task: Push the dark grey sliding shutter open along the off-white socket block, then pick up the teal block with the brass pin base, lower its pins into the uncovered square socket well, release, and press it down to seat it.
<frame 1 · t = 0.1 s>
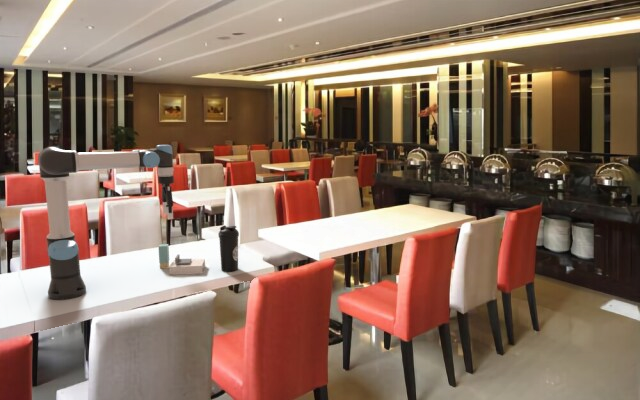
hand: (168, 216, 249), 28 cm above the table, fingers open, 13 cm apart
shutter: (183, 259, 250), point 6 cm above the table, slide at 0.0 cm
socket block: (187, 270, 251), on the table
water bottle: (229, 269, 253), on the table
teal block: (164, 267, 256), on the table
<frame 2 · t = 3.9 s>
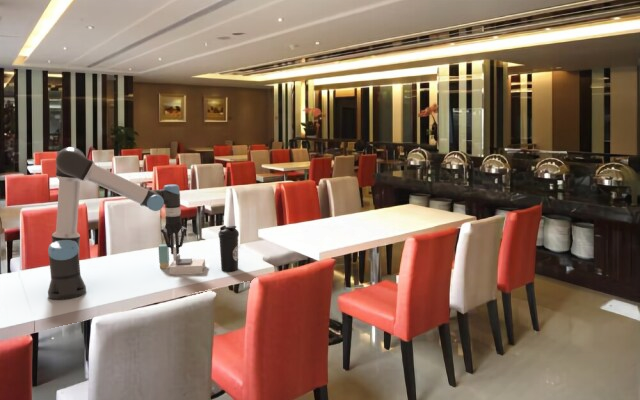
hand: (175, 260, 250), 6 cm above the table, fingers closed
shutter: (183, 259, 250), point 6 cm above the table, slide at 0.3 cm, touching gripper
everything else where it was.
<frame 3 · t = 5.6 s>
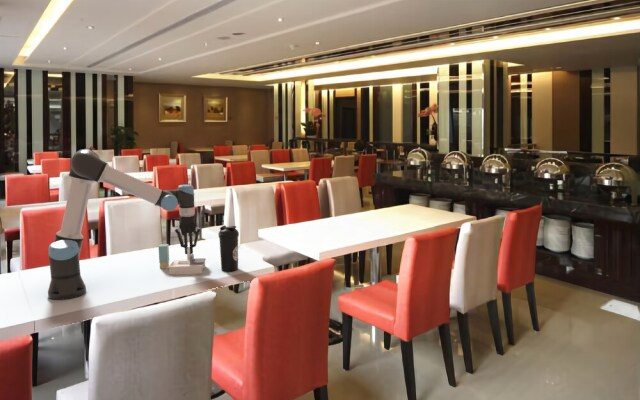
hand: (189, 260, 251), 5 cm above the table, fingers closed
shutter: (197, 258, 251), point 6 cm above the table, slide at 7.2 cm, touching gripper
everything else where it was.
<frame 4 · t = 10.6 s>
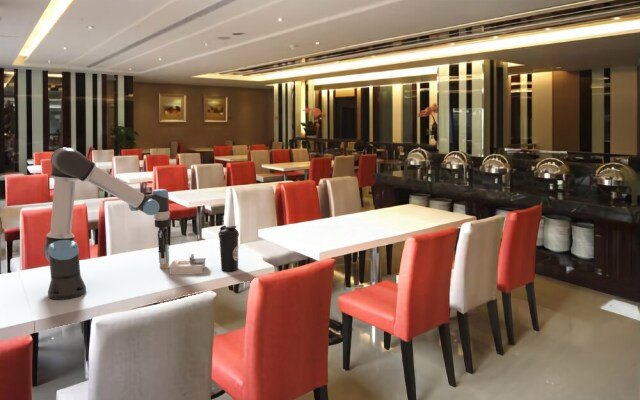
hand: (164, 262, 256), 3 cm above the table, fingers closed on teal block, 4 cm apart
shutter: (197, 258, 251), point 6 cm above the table, slide at 7.2 cm
teal block: (164, 267, 256), on the table, touching gripper
everything else where it was.
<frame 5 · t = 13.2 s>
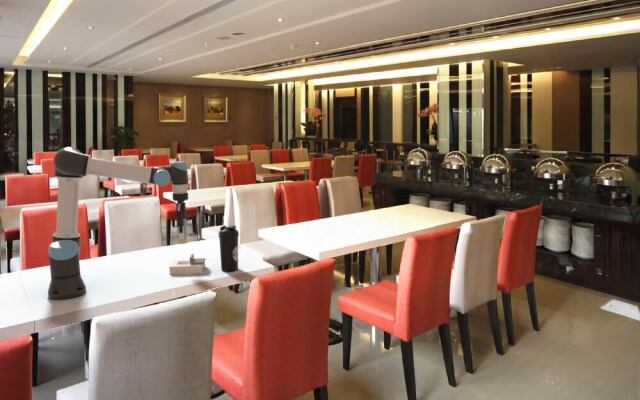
hand: (182, 237, 248), 17 cm above the table, fingers closed on teal block, 4 cm apart
teal block: (182, 242, 249), point 15 cm above the table, touching gripper
everything else where it was.
when the fingers open (5 cm above the table, at t = 16.1 s): teal block drops 2 cm, resting on socket block.
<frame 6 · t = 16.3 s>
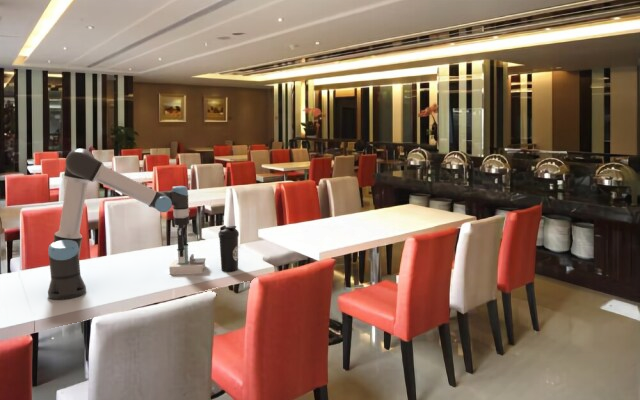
hand: (183, 260, 250), 5 cm above the table, fingers open, 7 cm apart
teal block: (183, 268, 251), point 1 cm above the table, touching socket block
everything else where it was.
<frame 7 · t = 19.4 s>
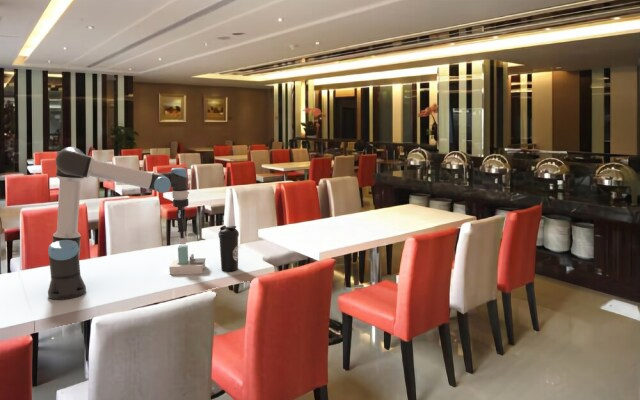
hand: (182, 243, 249), 14 cm above the table, fingers closed
nothing on the table moved.
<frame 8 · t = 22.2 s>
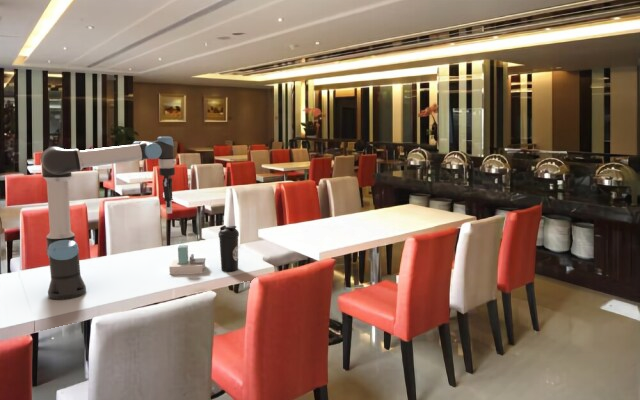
hand: (169, 213, 250), 29 cm above the table, fingers closed
nothing on the table moved.
at the end: teal block 0.0 cm from the target spot, point 0.8 cm above the table; shutter slide at 7.2 cm; teal block tilted 0° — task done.
